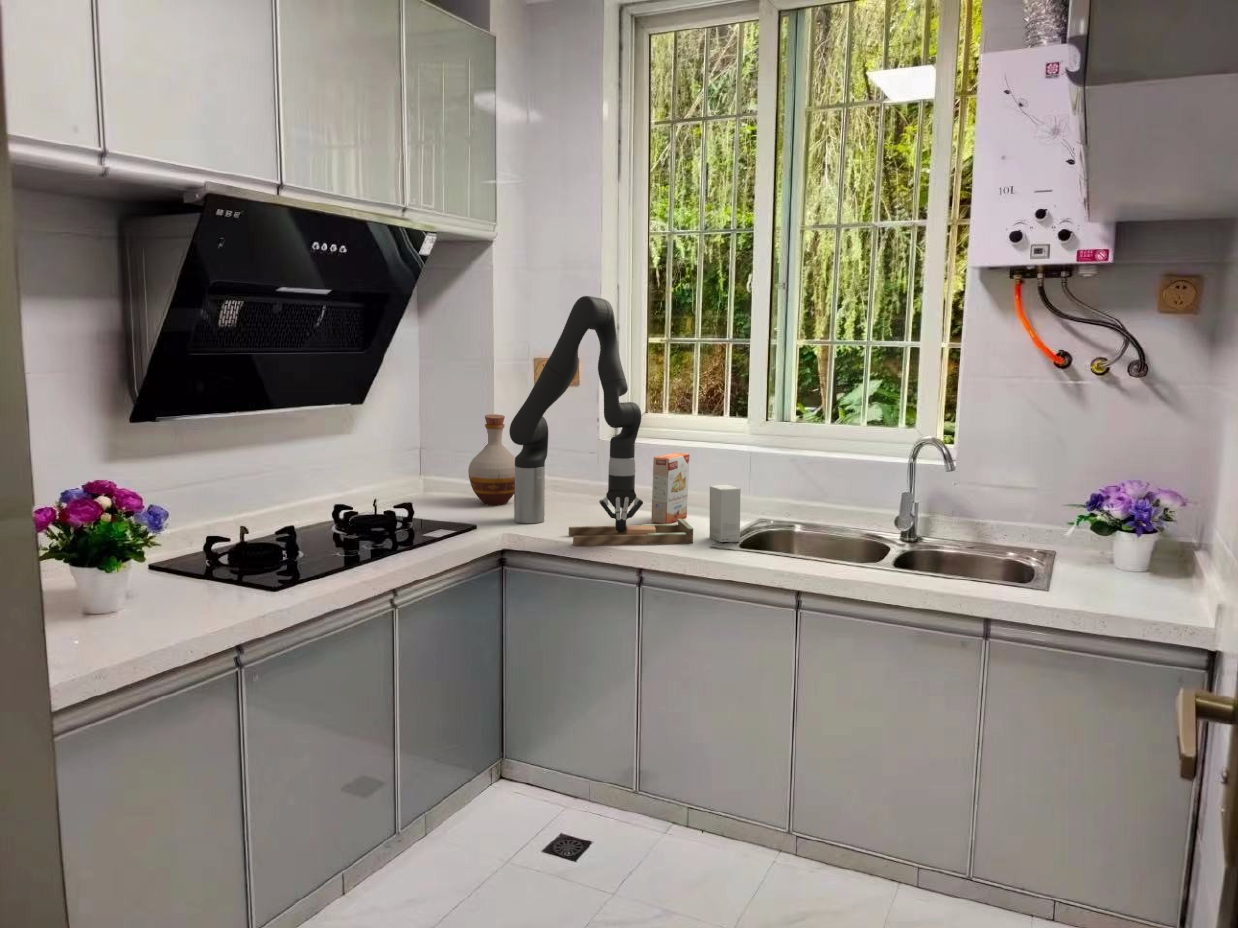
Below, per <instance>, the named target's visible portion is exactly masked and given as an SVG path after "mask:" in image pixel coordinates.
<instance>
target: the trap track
mask: <svg viewBox="0 0 1238 928" xmlns="http://www.w3.org/2000/svg"><path fill="white" fill-rule="evenodd" d="M627 526H628V525H626V530H625V531H624V533H618V531H617V530H616V528H615V525H597V526H596V525H595V526H592V525H591V526H568V537H572V543H573V544H572V545H573V546H574V547H579V546H580V547H581V546H582V547H584V546H627V545H633V546H634V545H667V544H669V545H673V544H674V545H676V544H693V543H694V527H692V525H691V524H689V523H688V522H687V521H686V519H685V518H684V519H678V521H677V523H669V524H658V523H652V524H651V523H650V524H649V523H648V524H645V523H644V524H643V523H641V524H638V525H636V526H655V529H656V533H647V534H638V535H626V534H627Z"/></svg>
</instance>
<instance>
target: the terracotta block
mask: <svg viewBox="0 0 1238 928" xmlns="http://www.w3.org/2000/svg"><path fill="white" fill-rule="evenodd" d="M626 526H627V534H626V535H638V534H647V533H656V529H655V526H637V525H626Z"/></svg>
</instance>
